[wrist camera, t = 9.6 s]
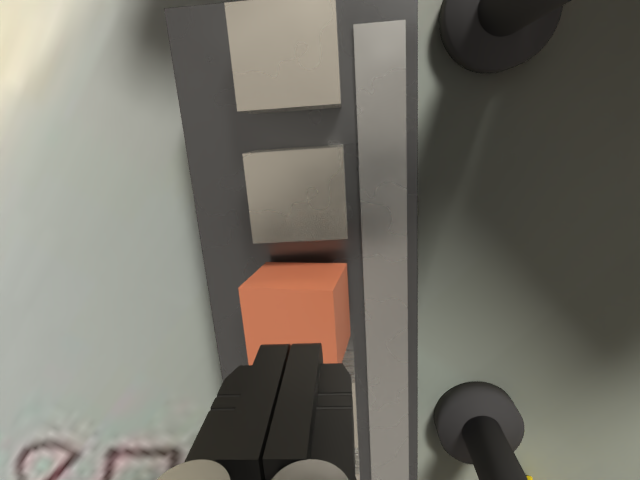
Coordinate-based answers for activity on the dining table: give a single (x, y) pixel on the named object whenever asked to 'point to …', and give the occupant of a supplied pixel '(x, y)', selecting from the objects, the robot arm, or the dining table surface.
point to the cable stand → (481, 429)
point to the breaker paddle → (297, 307)
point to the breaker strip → (229, 180)
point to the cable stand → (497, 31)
